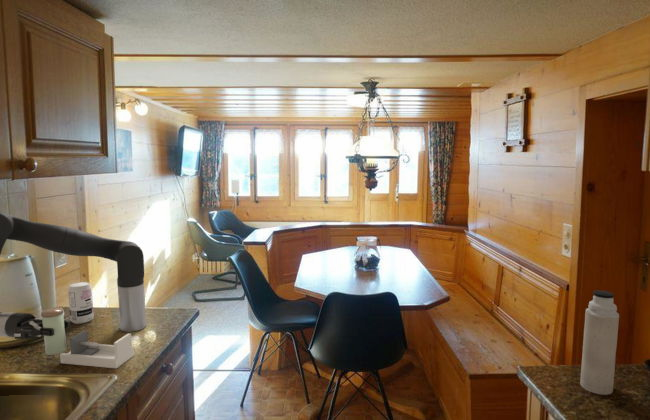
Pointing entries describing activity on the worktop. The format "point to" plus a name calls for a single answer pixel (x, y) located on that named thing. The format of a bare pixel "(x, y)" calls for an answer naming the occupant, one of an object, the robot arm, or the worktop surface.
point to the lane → (103, 354)
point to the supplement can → (80, 302)
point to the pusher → (82, 344)
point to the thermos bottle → (599, 344)
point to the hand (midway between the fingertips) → (60, 328)
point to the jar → (55, 321)
